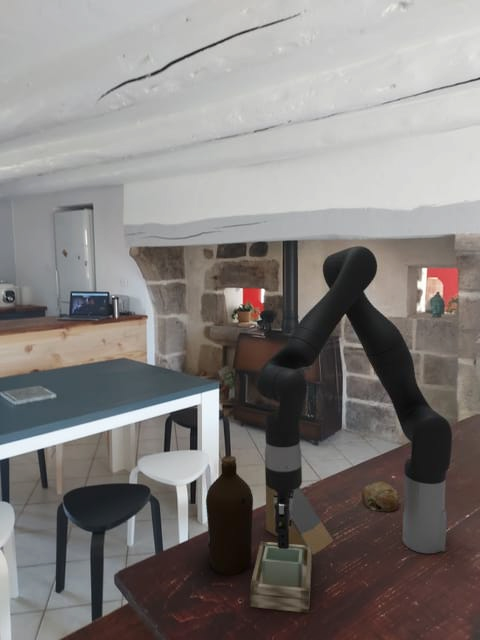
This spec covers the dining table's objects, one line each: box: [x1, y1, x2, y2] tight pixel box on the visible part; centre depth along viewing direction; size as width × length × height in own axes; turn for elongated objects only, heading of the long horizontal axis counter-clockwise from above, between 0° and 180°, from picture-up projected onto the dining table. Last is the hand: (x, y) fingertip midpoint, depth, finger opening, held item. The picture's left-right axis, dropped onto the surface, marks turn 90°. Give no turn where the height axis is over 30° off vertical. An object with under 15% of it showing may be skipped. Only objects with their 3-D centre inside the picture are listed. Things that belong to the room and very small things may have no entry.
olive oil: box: [205, 455, 254, 576], centre depth 113 cm, size 11×11×25 cm
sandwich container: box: [265, 484, 334, 555], centre depth 124 cm, size 9×15×15 cm, turn 44°
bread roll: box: [361, 481, 399, 513], centre depth 140 cm, size 10×10×8 cm
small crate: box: [262, 546, 302, 588], centre depth 106 cm, size 8×6×6 cm
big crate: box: [249, 541, 313, 614], centre depth 106 cm, size 12×16×5 cm
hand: (285, 536), depth 105 cm, fingers open, 8 cm apart
